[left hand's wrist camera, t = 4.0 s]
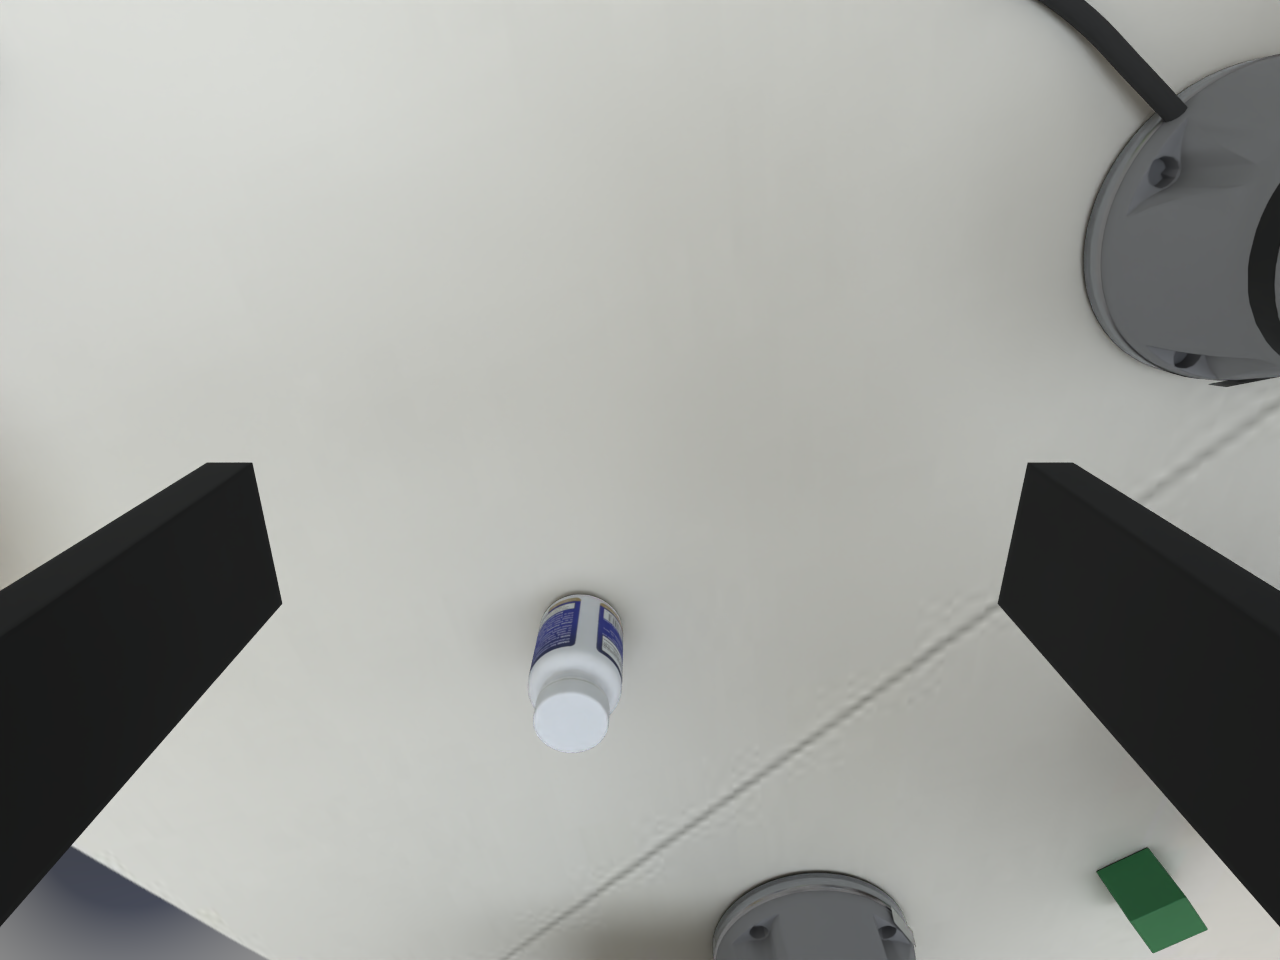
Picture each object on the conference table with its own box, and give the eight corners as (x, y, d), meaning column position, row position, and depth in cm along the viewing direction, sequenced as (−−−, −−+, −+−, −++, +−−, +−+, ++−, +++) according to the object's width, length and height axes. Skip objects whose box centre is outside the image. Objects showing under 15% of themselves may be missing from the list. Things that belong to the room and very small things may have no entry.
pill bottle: (535, 654, 47) (512, 754, 38) (547, 585, 45) (526, 674, 36) (615, 668, 47) (610, 770, 39) (631, 600, 45) (629, 691, 37)
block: (1169, 878, 54) (1208, 929, 50) (1118, 901, 55) (1153, 953, 51) (1147, 847, 53) (1186, 897, 49) (1095, 871, 54) (1130, 922, 50)
